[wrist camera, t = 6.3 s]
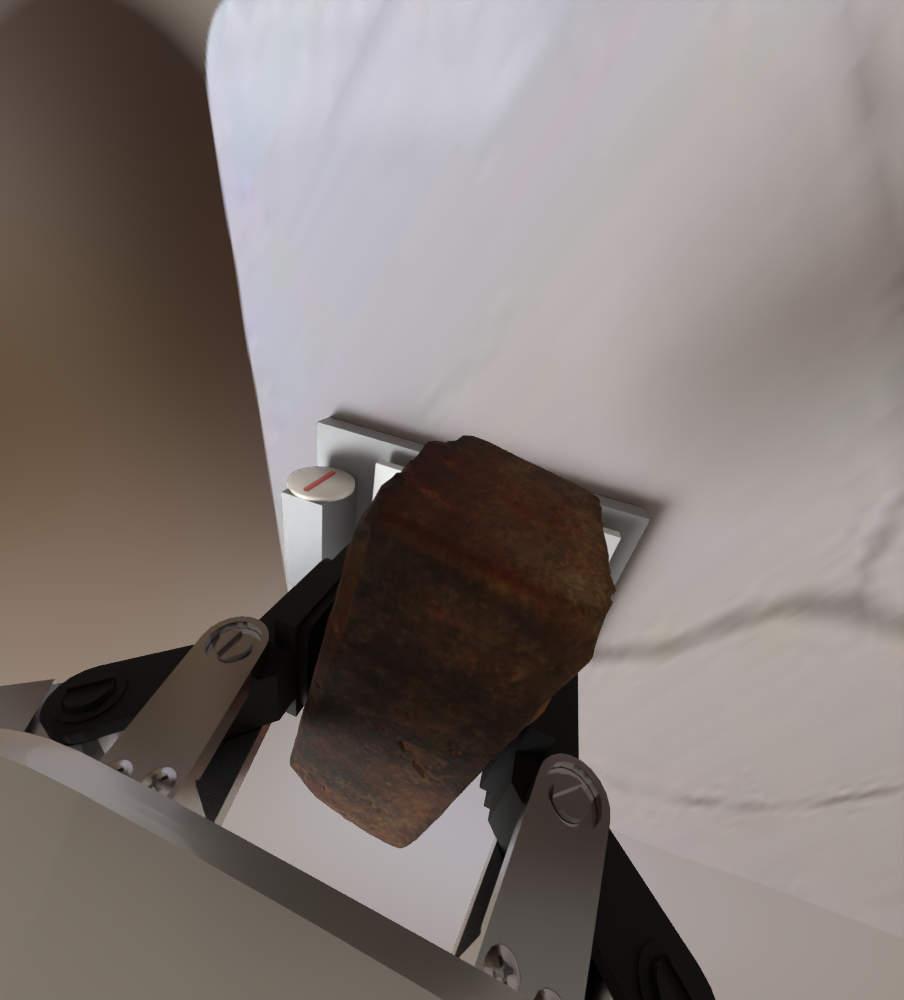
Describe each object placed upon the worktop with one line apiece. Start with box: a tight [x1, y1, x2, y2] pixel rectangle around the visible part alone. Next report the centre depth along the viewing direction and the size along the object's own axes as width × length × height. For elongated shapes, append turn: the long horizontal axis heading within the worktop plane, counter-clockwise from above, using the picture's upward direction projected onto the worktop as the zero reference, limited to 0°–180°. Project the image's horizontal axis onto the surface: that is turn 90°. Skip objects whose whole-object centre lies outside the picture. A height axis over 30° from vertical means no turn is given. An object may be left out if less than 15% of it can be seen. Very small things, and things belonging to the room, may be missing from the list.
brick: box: [290, 435, 616, 848], centre depth 9 cm, size 11×4×5 cm, turn 158°
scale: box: [282, 417, 650, 586], centre depth 26 cm, size 23×15×6 cm, turn 79°
